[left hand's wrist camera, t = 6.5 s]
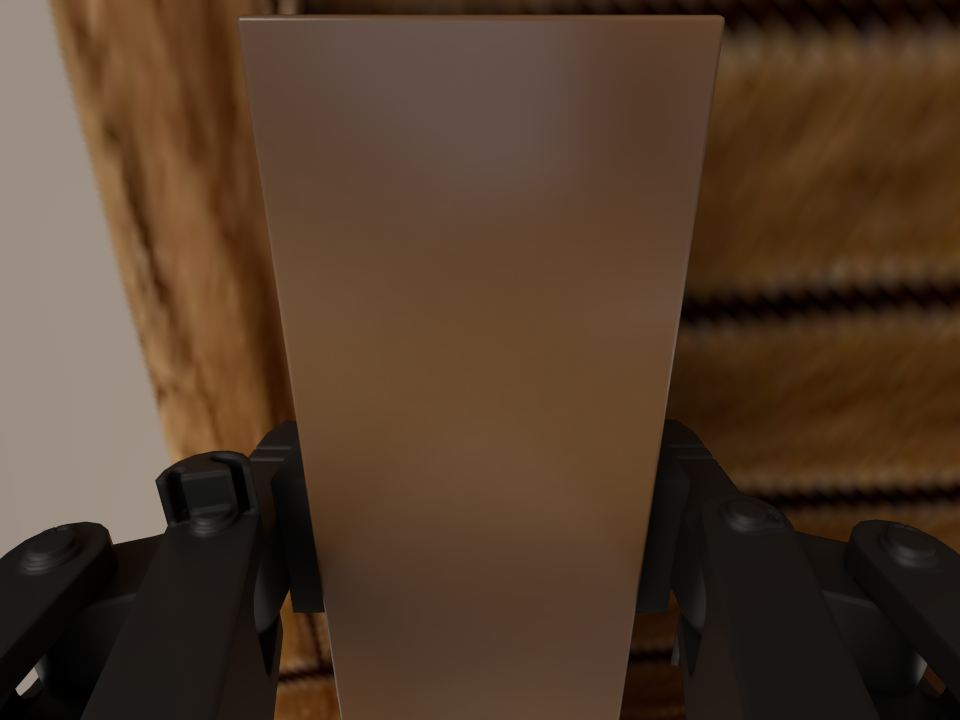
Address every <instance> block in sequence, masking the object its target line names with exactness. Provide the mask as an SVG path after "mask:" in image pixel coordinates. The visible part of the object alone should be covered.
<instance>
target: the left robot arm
mask: <svg viewBox="0 0 960 720" xmlns="http://www.w3.org/2000/svg"><path fill="white" fill-rule="evenodd" d="M155 481H156V485H157V488H158V492H159V496H160V499H161V503H162V506H163V510H164V513H165V517H166V521H167V524H168V527H167V529H166V531H165V533H164V534H160V535H157V536H153V537H148V538H143V539H138V540H133V541H128V542H124V543H119V544H114V545H113V543H112V540H111V537H110V534H109V531H108V529H106V528H105V527H104V526H103V525H101V524H99V523H91V522H80V523H72V524H65V525H61V526H58V527H56V528H55V527H54V528H51V529H48V530H45V531H43V532H42V533H40V534H38V535H36V536H33V537H31V538H29V539H27V540H25V541H24V542H22V543H21V544H19V545H18V546H17V547H15V548H14V549H12V550H11V551H9V552H8V553H7V554H5V555H4V556H3V557H2V558H1V559H0V720H274V711H275V702H276V693H277V684H278V675H279V666H280V657H281V648H282V639H283V628H282V621H281V616H280V609H281V607H282V605H283V602H284V600H285V598H286V595H287V593H288V591H289V589H290V595H291V600H292V606H293V611H294V612H325V608H324V602H323V595H322V588H321V582H320V575H319V568H318V561H317V555H316V548H315V541H314V535H313V528H312V521H311V515H310V508H309V501H308V495H307V488H306V481H305V475H304V468H303V461H302V454H301V448H300V441H299V434H298V428H297V421H285V422H283V423H282V424H280V425H279V426H277V427H276V428H274V429H273V430H271V431H270V432H268V433H267V434H266V435H265V436H264V438H263V439H262V440H261V442H260V443H259V444H258V446H257V449H256V450H254V451H253V452H252V453H251V455H250V456H249V457H246V456H245V455H244V454H243V453H238V452H234V451H212V452H207V453H202V454H197V455H194V456H191V457H189V458H186V459H184V460H181V461H179V462H177V463H175V464H174V465H172V466H170V467H169V468H167V469H166V470H164V471H163V472H162V473H161V475H160V476H159V477H158V478H157V479H156V480H155ZM671 588H672V590H673V592H674V594H675V597H676V599H677V601H678V603H679V606H680V608H681V611H680V616H679V621H678V626H677V631H676V637H675V642H674V647H673V652H672V658H671V665H674V666H678V661H679V656H680V665H681V674H682V683H683V692H684V701H685V710H686V719H687V720H960V555H959V554H958V553H956V552H955V551H954V550H953V549H951V548H950V547H948V546H947V545H945V544H944V543H943V542H941V541H940V540H938V539H937V538H935V537H933V536H931V535H929V534H926V533H924V532H922V531H920V530H919V529H917V528H914V527H911V526H909V525H904V524H902V523H897V522H892V521H884V520H868V521H861V522H860V523H858V524H857V525H856V526H854V527H853V529H852V532H851V535H850V538H849V541H848V542H843V541H838V540H833V539H828V538H823V537H819V536H814V535H809V534H805V533H801V532H797V531H795V530H794V528H793V525H792V524H791V523H790V521H789V520H788V519H787V517H786V516H785V515H784V514H783V513H782V512H780V511H779V510H778V509H776V508H775V507H774V506H772V505H771V504H769V503H766V502H764V501H762V500H760V499H758V498H755V497H752V496H748V495H744V494H741V493H740V491H739V490H738V489H737V487H736V486H735V485H734V483H733V482H732V481H731V480H730V478H729V477H728V476H727V474H726V473H725V472H724V470H723V469H722V468H721V466H720V465H719V464H718V463H717V461H716V460H715V459H713V456H712V455H711V453H710V452H709V451H708V450H707V448H704V444H703V443H702V442H701V440H700V439H699V438H698V436H697V435H696V434H695V433H694V431H692V430H691V429H689V428H687V427H686V426H684V425H683V424H681V423H680V422H678V421H677V420H664V427H663V433H662V440H661V446H660V453H659V460H658V466H657V473H656V479H655V486H654V493H653V499H652V506H651V512H650V519H649V526H648V532H647V539H646V545H645V552H644V559H643V565H642V572H641V578H640V585H639V592H638V598H637V605H636V611H635V612H656V613H667V607H668V602H669V596H670V591H671ZM927 664H928V665H929V667H930V668H931V669H932V670H933V671H934V672H935V673H936V675H937V676H938V677H939V678H940V679H941V680H942V682H943V683H944V684H945V685H946V688H945V690H944V692H943V693H942V694H940V693H939V692H938V691H936V690H935V689H934V688H933V687H932V686H931V685H930V683H929V682H928V681H927V680H926V679H925V677H924V676H923V673H924V671H925V668H926V666H927ZM33 667H35V670H36V672H37V674H38V676H39V677H38V679H37V680H36V681H35V682H34V683H33V685H32V686H31V687H30V688H29V689H28V690H27V691H26V692H24V693H23V694H22V695H21V696H20V695H18V693H17V691H16V689H15V688H16V687H17V686H18V685H19V684H20V683H21V681H22V680H23V679H24V678H25V677H26V676H27V674H28V673H29V672H30V671H31V670H32V669H33Z"/></svg>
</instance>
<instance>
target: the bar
mask: <svg viewBox="0 0 960 720" xmlns="http://www.w3.org/2000/svg"><path fill="white" fill-rule="evenodd" d="M724 24H725V20H724V17H722V16H720V15H241V16H239V17H237V27H238V33H239V40H240V47H241V53H242V60H243V67H244V73H245V80H246V87H247V93H248V100H249V107H250V113H251V120H252V127H253V133H254V140H255V147H256V154H257V160H258V167H259V174H260V180H261V187H262V194H263V200H264V207H265V214H266V220H267V227H268V234H269V240H270V247H271V254H272V261H273V267H274V274H275V281H276V287H277V294H278V301H279V307H280V314H281V321H282V327H283V334H284V341H285V347H286V354H287V361H288V368H289V374H290V381H291V388H292V394H293V401H294V408H295V414H296V421H297V428H298V434H299V441H300V448H301V454H302V461H303V468H304V475H305V481H306V488H307V495H308V501H309V508H310V515H311V521H312V528H313V535H314V541H315V548H316V555H317V561H318V568H319V575H320V582H321V588H322V595H323V602H324V608H325V615H326V622H327V628H328V635H329V642H330V648H331V655H332V662H333V668H334V675H335V682H336V689H337V695H338V702H339V709H340V715H341V720H619V717H620V710H621V704H622V697H623V691H624V684H625V677H626V671H627V664H628V658H629V651H630V644H631V638H632V631H633V625H634V618H635V611H636V605H637V598H638V592H639V585H640V578H641V572H642V565H643V559H644V552H645V545H646V539H647V532H648V526H649V519H650V512H651V506H652V499H653V493H654V486H655V479H656V473H657V466H658V460H659V453H660V446H661V440H662V433H663V427H664V420H665V413H666V407H667V400H668V394H669V387H670V380H671V374H672V367H673V361H674V354H675V347H676V341H677V334H678V328H679V321H680V314H681V308H682V301H683V295H684V288H685V281H686V275H687V268H688V262H689V255H690V248H691V242H692V235H693V229H694V222H695V215H696V209H697V202H698V196H699V189H700V182H701V176H702V169H703V163H704V156H705V149H706V143H707V136H708V130H709V123H710V116H711V110H712V103H713V97H714V90H715V83H716V77H717V70H718V64H719V57H720V50H721V44H722V37H723V31H724Z"/></svg>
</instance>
